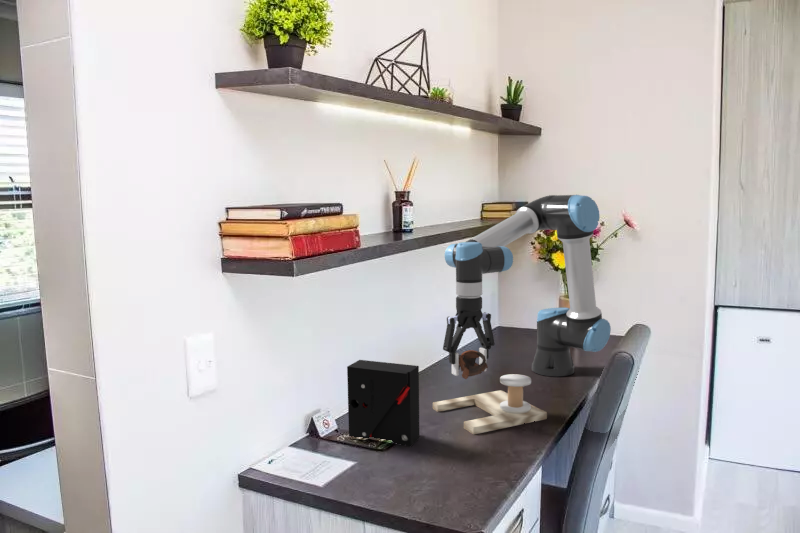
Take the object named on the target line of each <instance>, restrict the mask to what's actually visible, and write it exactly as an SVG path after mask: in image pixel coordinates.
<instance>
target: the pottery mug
mask: <svg viewBox="0 0 800 533" xmlns="http://www.w3.org/2000/svg"><path fill="white" fill-rule="evenodd" d="M479 357H481V358H482V359H483V362H482V364H480V365H479V363H477V362H476V360H477V359H478V358H479ZM448 360H449V357H448ZM487 363H488V362H486V359H485V356H484V355H483V354H482V353H480V352H479V350H478V351H477V350H474V349H470V350H469V349H468V350H465V351H463V352H462V353H461V354H459V370H460V371H461V372H462V373H461V378H463V379H465V380H467V379H469V377H474V376H478V375H481V374H482V372H485V371H484V370H485V369H486V370H487V369H488V368H489V366H488V364H487ZM451 366H452V364H451Z"/></svg>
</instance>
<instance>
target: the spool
mask: <svg viewBox="0 0 800 533" xmlns="http://www.w3.org/2000/svg"><path fill="white" fill-rule="evenodd" d="M499 383H500V384H501V385H504V386H506V387H507V393H508V400H507V401H503V402H501V403H500V409H501V410H502V411H504V412H507V413H514V414H521V413H527V412H529V411H530V410H531V405H532V404H531V405H530V402H527V401H526V400H524V387H528V386H530V385H531V384H532V378H531V377H530V376H528V375H524V374H516V373H515V374H513V373H511V374H504V375H501V376H500V377H499Z"/></svg>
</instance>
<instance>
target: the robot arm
mask: <svg viewBox="0 0 800 533" xmlns="http://www.w3.org/2000/svg"><path fill="white" fill-rule="evenodd" d="M600 216H601V215H600V210H599V207H598V205H597V203H596V201H595V200H594V199H592V197H590V196H588V195H581V194H563V195H562V194H559V195H557V194H551V195H550V194H549V195H545V196H542V197H539V198H536V199H535V200H533V201H531V202H529V203H527V204H525V205H523V206H521V207H519V208H518V209H516V212H515V214H513V215H511V216H509V217H508V218H506V219H504V220H501V222H498V223H496V224H494V225H493V226H491V227H490V228H488V229H486V230H484V231H482V232H481V233H479V234H477V235H475V236H473V237H472V238H470V239H468V240H467V241H464V242H459V243H451V244H450V245H448V246H447V247H446V249H445V251H444V260H445V263H446V264H447V265H448V266H449V267H451V268H455V294H456V295H457V296H456V297H455V309H456V313H455V315H454V316H447V317H446V329H445V335H444V341H443V345H442V350H443V351H445V352H446V353H448V358H449V359H448V362H449V364H452V365H451V374H452V375H453V376H456V377H458V376H459V374H460V373H459V372H460V369H459V355H460V354H459V353H458V352H457V351H458V348H459V345H460V343H461V340H462V338H463V336H464V334H465V333H466V331H467V329H469V330H470V328H472V329H473V330H474V332H475V334H476V336H477V338H478V341H479V343H480V346H481V347H479V348H478V352H480V353H482V354H483V355H484V356H485V359H486V363H488V362H487V360H488V359H489V354H490V353H489V352H490V351H489V350H491V348H492V347H493V346H495V345H496V344H495V338H494V333H493V328H492V323H491V319H492V314H491V313H488V312H486V311H485V312H482V310H483V297H482V295H483V275H486V274H492V273H502V272H505V271H508V270H510V269H511V267H513V264H514V256H513V255H514V254H513V252H512V251H511V249H510V248H508V247H507V246H508V245H509V244H511V243H512V242H514V241H516V240H518V239H520V238H522V237H523V236H525V235H527V234H534V233H536V232H538V231H544V230H553V231H556V237H557V239H558V240H559V241H561V242H562V247H563V257H564V264H565V265H564V266H565V273H566V274H565V275H566V284H567V291H568V292H567V294H568V300H569V307H551V308H550V307H549V308H543V309H540V310H539V311H538V312H537V316H536V318H537V320H536V351H535V353H534V354H535V355H534V357H533V361H532V362H531V371H532V373H535V374H538V375H540V376H547V377H567V376H568V377H569V376H571V375H573V374H574V373H575V363H574V360H573V356H572V354H571V348H573V349H577V350H582V351H585V352H593V353H597V352H601V350H603V349H604V348H605V346H607V343H608V342H609V339H610V336H611V330H612V329H611V324H610V322H609V321H608V320H607V319H605V318H603V316H602V314H603V313H602V309H600V308H599V307H598V306H597V301H596V292H595V283H594V274H593V273H594V271H593V264H592V263H593V262H592V254H591V243H590V238H592V236H593V235H594V231H595V230H596V229H597V228H598V226H599V221H600V218H601V217H600ZM481 320H482V324H483V325H482V324H481ZM456 324H457V325H456ZM482 326H483V327H482ZM482 328H483V329H482ZM455 329H456V330H455ZM483 330H484V331H483ZM478 362H479V363H478V364H479V365H480V364H482V362H483V359H482V358H481V357H479V359H478ZM484 372H487V368H486V369H485V370H484Z"/></svg>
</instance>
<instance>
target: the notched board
mask: <svg viewBox="0 0 800 533" xmlns="http://www.w3.org/2000/svg"><path fill="white" fill-rule="evenodd" d="M507 400H508V392H505V391H504V390H500V389H499V390H495V391H488V392H483V393H478V394H477V393H476V394H472V395H467V396H466V395H465V396H462V397H456V398H449V399H444V400H438V401H433V402H432V409H433V410H434V411H436V413H437V412H444V411H450V410H455V409H459V408H464V407H469V406H475V407H478V408H479V409H481V410H482V411H484V412H486V413H488V414H490V416H489V415H488V416H485V417H480V418H475V419H471V420H465V421H463V429H464V430H466V431H467V432H469V433H470V434H472V435H477V434H482V433H487V432H492V431H496V430H501V429H502V430H503V429H506V428H510V427H515V426H520V425H525V424H529V423H534V421H535V422H539V421H545V420H547V418H548V413H547V411H546V410H543V409H541V408H538V407H537V406H535V405H532V404H530V403H529V404H530V405H531V410H530V411H529V412H527V413H521V414H514V413H507V412H504V411H502V410H501V409H500V403H501V402H503V401H507ZM524 423H525V424H524Z"/></svg>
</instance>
